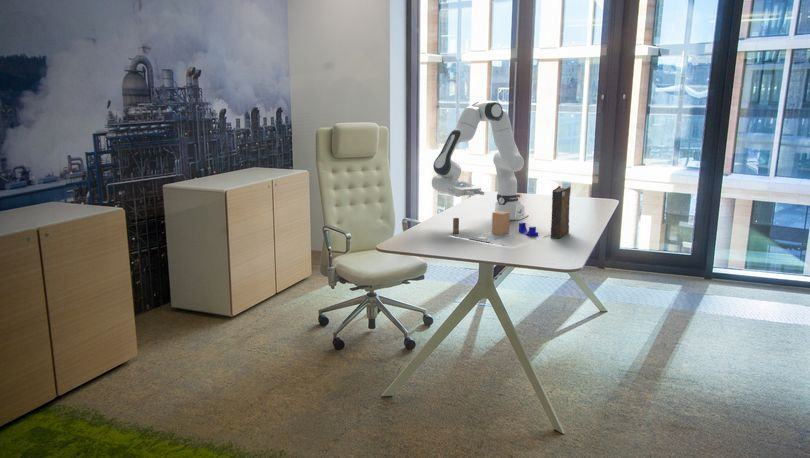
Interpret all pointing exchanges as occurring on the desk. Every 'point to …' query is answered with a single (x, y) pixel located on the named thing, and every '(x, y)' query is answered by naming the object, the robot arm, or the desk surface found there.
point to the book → (560, 212)
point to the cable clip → (530, 233)
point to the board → (488, 237)
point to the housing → (500, 222)
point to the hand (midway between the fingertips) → (478, 193)
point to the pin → (455, 226)
